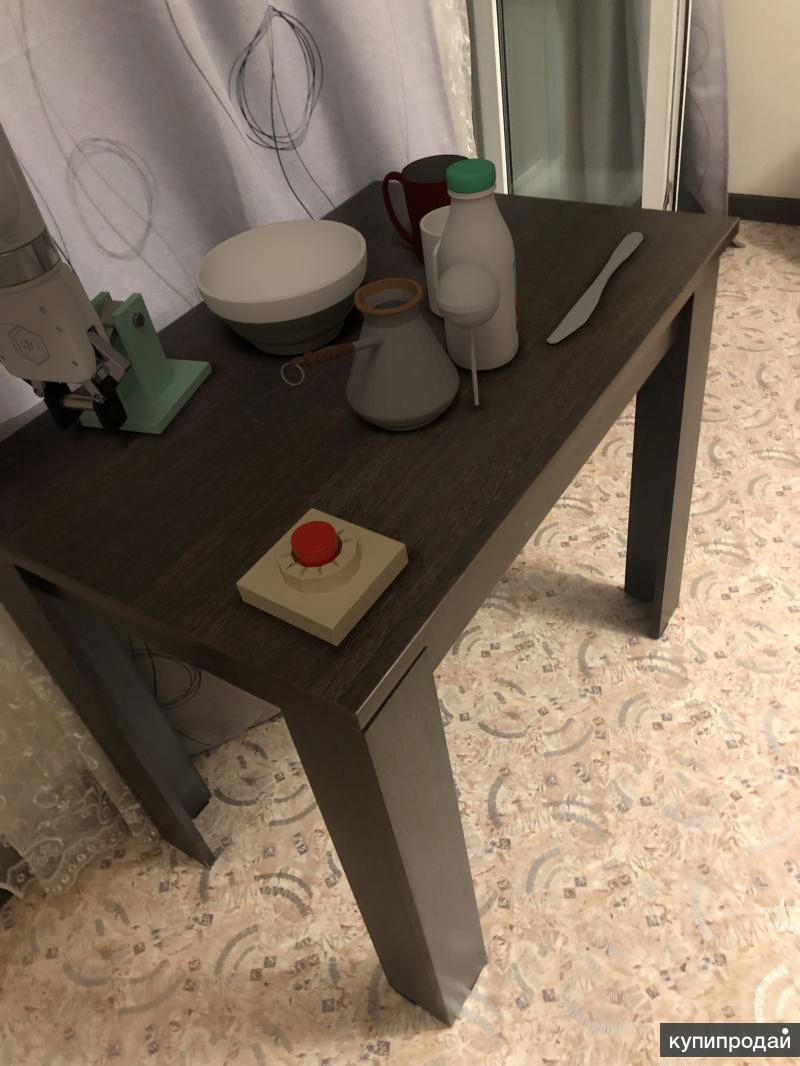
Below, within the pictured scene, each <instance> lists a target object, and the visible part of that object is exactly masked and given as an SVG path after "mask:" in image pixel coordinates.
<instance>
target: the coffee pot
mask: <svg viewBox="0 0 800 1066" xmlns="http://www.w3.org/2000/svg"><path fill="white" fill-rule="evenodd" d="M423 289H424V288H423V287H422V285H421V284H420V283H419V282H418V281H415V280H414V279H411V278H407V277H388V278H381V279H378V280H374V281H371V282H369V283H367V284H365V285H361V287H360V288H358V289H357V290H356V292H355V297H354V306H355V307H356V309H357V310H358V311H359V312H361V314H362V316H363V318H364V320H363V323H362V327H361V329H360V335H359V339H358V340H355V341H353V342H346V343H339V344H335V345H328V346H322V347H320V348H319V349H317V350H316V351H313V352H312V351H310V352H306V353H303V354H302V356H296V357H294V358H293V359H292V360H290V361H289V362H286V363H284V364H282V366H281V368H280V376H281V378H282V380H283V381H284V382H285V383H286V384H288V385H290V386H299V385H301V384H302V383H303V382H304V380H305V371H304V369H303V367H304V366H305V367H307V368H312V367H314V366H315V364H318V363H329V362H332V361H335V360H337V359H340V358H342V357H345V356H347V355H350V354H352V353H355V354H354V357H353V362H352V365H351V368H350V373H349V376H348V381H347V383H346V388H345V394H346V400H347V402H348V404H349V405H350V406H351V409H353V411H354V412H355V413H356V414H357V415H358V416H359V417H360V418H362V419H363V420H364V421H365V422H368V423H370V424H372V425H375V426H377V427H378V428H381V429H384V430H387V431H396V432H401V431H405V432H406V431H411V430H416V429H419V428H422V427H424V426H427V425H429V424H430V423H433V422H434V421H435V420H436V419H437V418H438V417H439V416H440V415H441V414H442V413H444V412H445V411H446V410H447V409H448V408H449V407H450V406H451V405H452V403H453V401H454V399H455V398H456V395H457V393H458V391H459V386H460V375H459V373H458V370H457V367H456V365H455V363H454V362H453V361H452V360H451V358H450V357H449V354H448V352H446V350H445V349H444V346H443V345H442V344H441V342H440V341H439V339H438V338H437V336H436V334H435V332H434V331H433V330H432V328H431V327H430V325H429V323H428V322H427V320H426V319H425V318H424V316H423V314H422V313H421V311H420V310H419V305H420V302H421V300H422V299H423V296H424V290H423ZM287 365H289V367H290V368H295V369H299V370H300V372H301V376H302V377H301V380H300V381H299V382H297V383H292V382H290V381H288V379H287V378H286V377H285V375H284V368H285V367H286V366H287Z"/></svg>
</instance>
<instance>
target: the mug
mask: <svg viewBox="0 0 800 1066" xmlns="http://www.w3.org/2000/svg"><path fill="white" fill-rule="evenodd" d="M466 159H470V158H469V157H467V156H465V155H460V154H451V153H449V154H447V153H446V154H434V155H429V156H425V157H422V158H419V159H416V160H413V161H410V162H409V163H408V164H406V165H404V167H403V168H402V170H401V172H400V171H396V170H392V171H390V172H388V173H387V174H385V176H384V178H383V180H382V185H381V191H382V192H381V193H382V197H383V202H384V206H385V210H386V212H387V215H388V218H389V219H390V222H391V224H392V226H393V228H394V229H395V231H396V232H397V233H398V235H399V236H400V237H401V238H402V239H403V240H404V241H405V242H406V243H408V244H409V245H411V246H413V247H414V248H415V252H416V257H417V260H418V261H419V262H420V263H421V264H423V265H425V263H424V255H423V246H422V238H421V229H420V222H421V220H422V218H423V217H424V216H425V215H427V214H428V213H430V212H432V211H434V210H436V209H439V208H442V207H445V206H450V205H451V196H450V195H449V194H448V186H447V180H446V172H447V169H448V167H449V166H451V165H452V164H454V163H456V162H458V161H462V160H466ZM390 181H396V182H398V183H400V185H402V189H403V194H404V195H403V196H404V200H405V205H406V209H407V215H408V219H409V224H410V229H411V232H412V233H409V232H408V231H407V230H406V229H405V227H404V226H403V225H402V223H401V222H400V220H399V218H398V217H397V215H396V213H395V210H394V207H393V204H392V202H391V201H392V200H391V196H390V192H389V182H390Z"/></svg>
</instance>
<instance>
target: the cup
mask: <svg viewBox="0 0 800 1066" xmlns="http://www.w3.org/2000/svg"><path fill="white" fill-rule="evenodd" d="M449 211H450V206H445V207H442V208H439V209H436V210H434V211H432V212H430V213H428V214H427V215H425V216H424V217H423V218H422V220H421V222H420V229H421V238H422V246H423V255H424V263H425V264H424V270H425V280H426V287H427V296H428V297H427V298H428V305H429V309H430V311H431V312H432V313H433V314H435V315H437V316H438V317H439V318H440V317H441V318H443V316H442V315H441V314H440V312H439V310H438V307H437V304H436V301H435V293H436V288H437V285H438V283H439V280H440V267H439V249H440V242H441V237H442V234H443V231H444V228H445V225H446V222H447V219H448V216H449Z"/></svg>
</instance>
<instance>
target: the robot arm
mask: <svg viewBox="0 0 800 1066" xmlns="http://www.w3.org/2000/svg"><path fill="white" fill-rule="evenodd" d="M0 364H1V365H3V367H4V368H5V370H6V371H7V373H8V374H10V375H11V376H13V377H15V378H18V379H21V380H22V381H24V382H25V383H26V384H27V385H29V386H30V387H31V388H32V391H33V393H34V395H35V396H37V397H38V398H40V399H41V398H42V401H43V402H44V404H45V406H46V408H47V410H48V412H49V413H50V416H51V417H52V419H53V421H54V423H55V426H56V427H57V428H58V430H59V431H67V430H68V429H69V428H70V427H71V426H72V425H73V424H74V423H75V422H76V421H77V419H79V417H80V416H81V414H82V410H76V409H66V408H61V407H60V405H59V397H60V395H62V394H70V395H74V394H73V392H72V391H71V388H70V386H69V385H68V384H76V385H77V384H78V385H79V384H80V385H81V384H83V385H84V386H85V388H86V389H87V390H88V392H89V393H90V394H91V396H92V397H93V398H94V400H95V401H94V402H93V404H92V406H93V409H94V411H95V413H96V415H97V417H98V419H99V421H100V423H101V425H102V427H103V428H102V429H103V431H104V433H105V434H106V435H107V436H110V437H111V436H112V437H113V436H115V434H116V433H117V432H118V431H120V430H119V429H120V427H121V426H122V425H123V424H124V423H125V422H126V421H127V418H128V416H127V414H126V411H125V409H124V407H123V405H122V402H121V400H120V398H119V396H118V394H117V391H116V389H117V388H118V387H119V384H120V382H121V380H122V379H123V377H124V376H125V375H126V374H127V372H128V371H129V370H130V369H131V368H132V365H131V363H130V362H129V361H128V360H127V359H125V358H124V357H123V356H122V355H121V354H120V353H118V352H117V351H116V350H115V349H114V348H113V347H112V346H111V344H110V341H109V338H108V336H107V333H106V331H105V329H104V327H103V325H102V323H101V320H100V318H99V316H98V314H97V313H96V311H95V309H94V307H93V305H92V303H91V300H90V297H89V296H88V294H87V292H86V291H85V289H84V287H83V286H82V284H81V282H80V281H79V279H78V278H77V276H76V275H75V273H74V272H73V270H72V269H71V268H70V266H69V265H68V263H67V262H63V259H62V257H61V255H60V252H59V250H58V248H57V246H56V243H55V240H54V239H53V237H52V235H51V232H50V230H49V227H48V225H47V223H46V222H45V219H44V217H43V214H42V211H41V210H40V207H39V205H38V203H37V201H36V199H35V197H34V195H33V191H32V190H31V186H30V185H29V183H28V181H27V179H26V175H25V174H24V171H23V169H22V167H21V165H20V163H19V160H18V158H17V156H16V153H15V151H14V149H13V147H12V144H11V142H10V140H9V138H8V136H7V133H6V131H5V129H4V127H3V125H2V123H1V121H0ZM96 373H97V374H98V375H99V376H100V378H101V381H100V383H99V385H98V383H97V382H96V381H95V379H94V378H93V376H94V375H95V374H96Z"/></svg>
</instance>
